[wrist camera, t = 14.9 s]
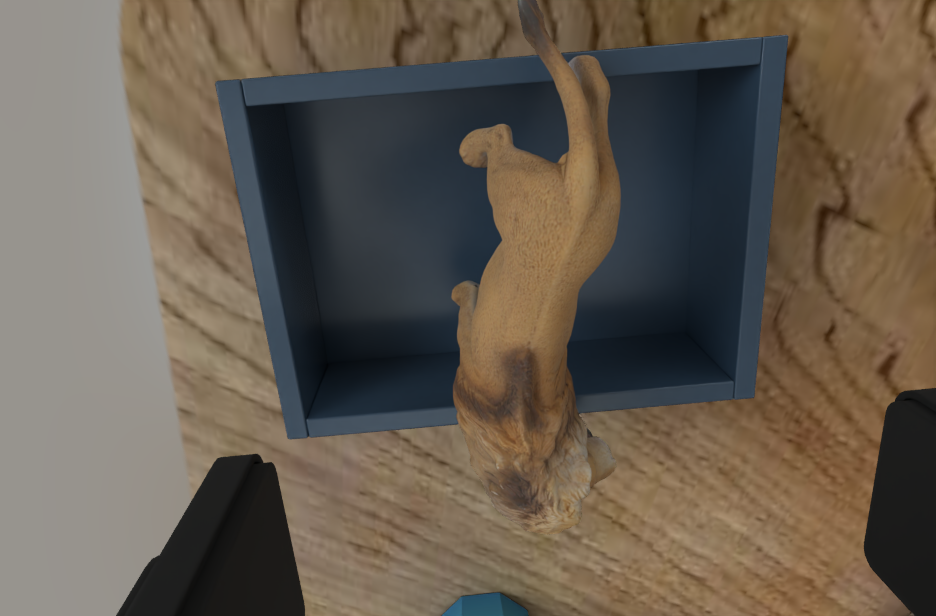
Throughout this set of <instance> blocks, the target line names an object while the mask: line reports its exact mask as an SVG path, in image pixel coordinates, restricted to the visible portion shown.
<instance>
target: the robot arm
mask: <svg viewBox="0 0 936 616" xmlns="http://www.w3.org/2000/svg"><path fill="white" fill-rule="evenodd" d="M864 552H865V556H866V559H867V561H868V563H869V565H870V567H871V568H872V570H873V571H874V572H875V573H876V574H877V575H878V577H879V578H880V579H881V580H882V581H883V582H884V583H885V584H886V585H887V586H888V587H889V588H890V590H891V591H892V592H893V593H894V594H895V595H896V596H897V597H898V598H899V599H900V600H901V601H902V603H903V604H904V605H905V606H906V607H907V608H908V609H909V610H910V611H911V612H912V613H913V614H914V616H936V388H931V389H921V390H911V391H904V392H902V393H900V394H899V395H898V396H897V398H896V399H895V402H893V403H891V404H890V405H889V406H888V407H887V410H886V414H885V420H884V426H883V432H882V438H881V444H880V450H879V456H878V462H877V468H876V474H875V480H874V486H873V493H872V499H871V505H870V511H869V517H868V523H867V529H866V535H865V541H864ZM116 616H305V606H304V600H303V595H302V590H301V585H300V581H299V576H298V571H297V566H296V562H295V557H294V552H293V547H292V543H291V538H290V533H289V528H288V524H287V519H286V514H285V509H284V505H283V500H282V495H281V491H280V486H279V481H278V476H277V472H276V468H275V466H274V464H273V463H272V462H269V463H263V460H262V459H261V457H260V455H258V454H250V455H240V456H230V457H221V458H218V459H217V460H216V461H215V462H214V464H213V465H212V467H211V469H210V471H209V472H208V474H207V476H206V477H205V479H204V481H203V482H202V484H201V486H200V488H199V489H198V491H197V493H196V494H195V496H194V498H193V499H192V501H191V503H190V505H189V506H188V508H187V510H186V511H185V513H184V515H183V516H182V518H181V520H180V522H179V523H178V525H177V527H176V528H175V530H174V532H173V533H172V535H171V537H170V539H169V540H168V542H167V544H166V545H165V547H164V549H163V550H162V552H161V554H160V555H159V556H157V557H155V558H153V559H152V560H151V561H150V562H149V564H148V565H147V566H146V567H145V569H144V571H143V572H142V574H141V576H140V577H139V579H138V580H137V582H136V584H135V585H134V587H133V589H132V591H131V592H130V594H129V595H128V597H127V599H126V600H125V602H124V604H123V606H122V607H121V608H120V610H119V612H118V613H117V615H116Z"/></svg>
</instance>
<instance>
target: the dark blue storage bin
mask: <svg viewBox="0 0 936 616" xmlns="http://www.w3.org/2000/svg"><path fill="white" fill-rule="evenodd" d="M787 45H788V35H779V36H766V37H754V38H742V39H729V40H717V41H705V42H692V43H680V44H668V45H655V46H643V47H631V48H618V49H606V50H594V51H581V52H569V53H561V54H562V56H563V57H564V59H565V60H566V61H567V63H569V62H570V61H571V60H572V59H573V58H575V57H577V56H580V55H589V56H592V57H595V58H596V59H597V60H598V62H599V64H600V67H601V70H602V72H603V74H604V75H605V77H606V79H607V80H608V83H609V86H610V99H609V104H608V119H607V124H608V136H609V141H610V145H611V149H612V154H613V158H614V161H615V164H616V168H617V171H618V174H619V181H620V189H621V200H620V213H619V220H618V226H617V233H616V237H615V240H614V243H613V245H612V247H611V249H610V251H609V252H608V254H607V255H606V257H605V258H604V260H603V261H602V262H601V263H600V265H599V266H598V267H597V268H596V270H595V271H594V272H593V273H592V274H591V275H590V276H589V278H588V279H587V280H586V281H585V282H584V283H583V285H582V286H581V288H580V289H579V292H578V299H577V309H576V315H575V320H574V324H573V329H572V333H571V336H570V339H569V341H568V344H567V346H566V347H567V365H566V366H567V368H568V370H569V372H570V374H571V376H572V381H573V387H574V392H575V398H576V408H577V410H578V413H590V412H601V411H612V410H623V409H634V408H645V407H656V406H667V405H678V404H690V403H701V402H712V401H723V400H732V399H735V400H737V399H748V398H754V395H755V384H756V374H757V363H758V353H759V342H760V331H761V321H762V310H763V299H764V289H765V278H766V268H767V257H768V246H769V236H770V225H771V215H772V204H773V193H774V183H775V172H776V161H777V151H778V140H779V130H780V119H781V108H782V98H783V87H784V77H785V66H786V55H787ZM215 86H216V90H217V95H218V100H219V105H220V110H221V115H222V120H223V125H224V130H225V134H226V139H227V144H228V149H229V154H230V159H231V164H232V169H233V173H234V178H235V183H236V188H237V193H238V198H239V203H240V208H241V213H242V217H243V222H244V227H245V232H246V237H247V242H248V247H249V252H250V256H251V261H252V266H253V271H254V276H255V281H256V286H257V291H258V295H259V300H260V305H261V310H262V315H263V320H264V325H265V330H266V335H267V339H268V344H269V349H270V354H271V359H272V364H273V369H274V374H275V378H276V383H277V388H278V393H279V398H280V403H281V408H282V413H283V418H284V422H285V427H286V432H287V437H288V439H300V438H307V437H311V438H312V437H323V436H334V435H345V434H356V433H367V432H379V431H390V430H401V429H412V428H423V427H434V426H445V425H456V424H459V423H458V421H457V418H456V415H457V410H456V408H455V405H454V400H453V384H454V381H455V377H456V372H457V368H458V367H459V366H460V347H459V344H458V340H457V330H458V323H459V310H460V306H459V305H458V304H457V303H456V302H455V301H453V300H452V297H451V296H452V290H453V289H454V287H455V286H457V285H458V284H460V283H462V282H464V281H473V282H475V283H477V284H479V285H480V282H481V278H482V275H483V272H484V270H485V268H486V266H487V264H488V262H489V260H490V259H491V257H492V255H493V254H494V252H495V250H496V249H497V247H498V246H499V244H500V243H501V242H502V238H501V235H500V233H499V231H498V229H497V227H496V224H495V222H494V217H493V207H492V205H491V203H490V201H489V197H488V191H487V167H486V168H475V167H472V166H469V165H467V164H465V163H464V161H463V159H462V157H461V155H460V153H459V149H460V145H461V143H462V141H463V139H464V138H465V137H466V136H467V135H468V134H469V133H471V132H472V131H474V130H476V129H482V128H490V127H493V126H496V125H498V124H505V125H508V126H509V127H510V128H511V131H512V137H513V145H514V146H515V147H516V148H517V149H520V150H524V151H527V152H530V153H532V154H535V155H538V156H540V157H542V158H544V159H546V160H549V161H551V162H553V163H558V161H559V160H560V158H561V157H562V155H564V154H566V153H567V152H568V151H569V135H568V125H567V119H566V114H565V111H564V107H563V103H562V100H561V97H560V95H559V92H558V90H557V88H556V84H555V82H554V80H553V78H552V76H551V74H550V72H549V70H548V69H547V67H546V66H545V64H544V63H543V61H542V60H541V58H540V57H539V55H532V56H520V57H507V58H495V59H483V60H470V61H458V62H446V63H433V64H421V65H408V66H396V67H384V68H371V69H359V70H347V71H334V72H322V73H310V74H297V75H285V76H273V77H260V78H248V79H236V80H224V81H217V82H216V83H215Z"/></svg>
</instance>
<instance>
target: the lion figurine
mask: <svg viewBox="0 0 936 616" xmlns="http://www.w3.org/2000/svg"><path fill="white" fill-rule="evenodd" d="M518 8H519V16H520V20H521V24H522V28H523V33H524V36H525V38H526V39H527V41H528V42H529V43H530V44H531V46H532V47H533V48H534V49H535V51H536V52H537V54H538V55H539V57H540V58H541V60H542V61H543V63H544V64H545V66H546V67H547V69H548V70H549V72H550V74H551V76H552V78H553V80H554V82H555V84H556V88H557V90H558V92H559V95H560V97H561V100H562V103H563V107H564V111H565V114H566V119H567V125H568V135H569V151H568V152H567V153H566V154H564V155H562V157H561V158H560V160H559V161H558V163H553V162H551V161H549V160H546V159H544V158H542V157H540V156H538V155H535V154H532V153H530V152H527V151H524V150H520V149H517V148H516V147H515V146H514V145H513V137H512V131H511V128H510V127H509V126H508V125H505V124H498V125H496V126H493V127H490V128H482V129H476V130H474V131H472V132H471V133H469V134H468V135H467V136H466V137H465V138H464V139H463V141H462V143H461V145H460V149H459V153H460V155H461V157H462V159H463V161H464V163H465V164H467V165H469V166H472V167H475V168H486V167H487V191H488V197H489V201H490V203H491V205H492V207H493V217H494V222H495V224H496V227H497V229H498V231H499V233H500V235H501V238H502V242H501V243H500V244H499V246H498V247H497V249H496V250H495V252H494V254H493V255H492V257H491V259H490V260H489V262H488V264H487V266H486V268H485V270H484V272H483V275H482V278H481V282H480V285H479V284H477V283H475V282H473V281H464V282H462V283H460V284H458V285H457V286H455V287H454V289H453V290H452V296H451V297H452V300H453V301H455V302H456V303H457V304H458V305H459V306H460V310H459V323H458V330H457V340H458V344H459V347H460V366H459V367H458V368H457V372H456V377H455V381H454V384H453V400H454V405H455V408H456V410H457V415H456V418H457V421H458V423H459V426H460V429H461V431H462V433H463V434H464V436H465V440H466V443H467V445H468V449H469V452H470V462H471V466H472V467H473V469H474V471H475V472H476V474H477V475H478V476H479V478H480V480H481V482H482V483H483V486H484V489H485V491H486V493H487V495H488V496H489V497H490V498H491V503H492V505H493V506H494V508H496V509H497V510H498V511H499V512H500V513H501V514H502V515H503V516H505V517H507V518H508V519H510V520H511V521H514V522H516V523H518V524H520V525H521V527H522V528H523V529H524V530H525V531H528V532H529V531H531V532H536V533H542V534H558V533H561V532H562V530H564V529H568V528H571V527H572V526H574V525H578V524H579V523H580V521H581V518H582V513H581V509H582V506H581V500H582V499H584V498H585V497H587V496H588V494H589V492H590V488H592V487H593V486H594V484H596V483H597V482H598V481H600V480H602V479H604V478H606V477H607V476H609V475H610V474H611V473H612V472H613V471H614V470H615V468H616V461H615V459H614V458H612V456H611V452H610V449H609V447H608V445H607V444H606V443H605V442H604V441H603V440H602V439H600V438H599V437H593V436H592V434H591V432H590V431H589V429H588V428H587V427H586V425H585V423H584V422H583V420H582V419H581V418H580V416H579V413H578V410H577V408H576V398H575V392H574V387H573V381H572V376H571V374H570V372H569V370H568V368H567V366H566V365H567V347H566V346H567V344H568V341H569V339H570V336H571V333H572V329H573V324H574V320H575V315H576V309H577V299H578V292H579V289H580V288H581V286H582V285H583V283H584V282H585V281H586V280H587V279H588V278H589V276H590V275H591V274H592V273H593V272H594V271H595V270H596V268H597V267H598V266H599V265H600V263H601V262H602V261H603V260H604V258H605V257H606V255H607V254H608V252H609V251H610V249H611V247H612V245H613V243H614V240H615V237H616V233H617V226H618V220H619V213H620V200H621V189H620V181H619V174H618V171H617V168H616V164H615V161H614V158H613V154H612V149H611V145H610V141H609V136H608V124H607V119H608V104H609V99H610V86H609V83H608V80H607V79H606V77H605V75H604V74H603V72H602V70H601V67H600V64H599V62H598V60H597V59H596V58H595V57H592V56H589V55H580V56H577V57H575V58H573V59H572V60H571V61H570V62H569V63H567V61H566V60H565V59H564V57H563V56H562V54H561V53H560V51H559V50H558V48H557V47H556V45H555V44H554V43H553V42H552V40H551V39H550V37H549V35H548V33H547V31H546V29H545V25H544V17H543V13H542V12H541V11H540V10H539V7H538V4H537V1H536V0H518Z"/></svg>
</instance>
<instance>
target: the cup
mask: <svg viewBox="0 0 936 616" xmlns="http://www.w3.org/2000/svg"><path fill="white" fill-rule="evenodd" d="M442 616H529V615H528V611H527V610H526V609H525V608H523V607H522V606H520V605H518V604H517V603H515V602H514V601H512V600H510V599H509V598H507V597H506V596H504V595H503V594H501V593H499V592H498V593H489V594H479V595H469V596H461V597H460V598H459V599H458V600H457V601H456V602H455V603H454V604H453V605H452V606H451V607H450V608H449V609H448V610H447V611H446V612H445V613H444V614H443V615H442Z"/></svg>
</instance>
